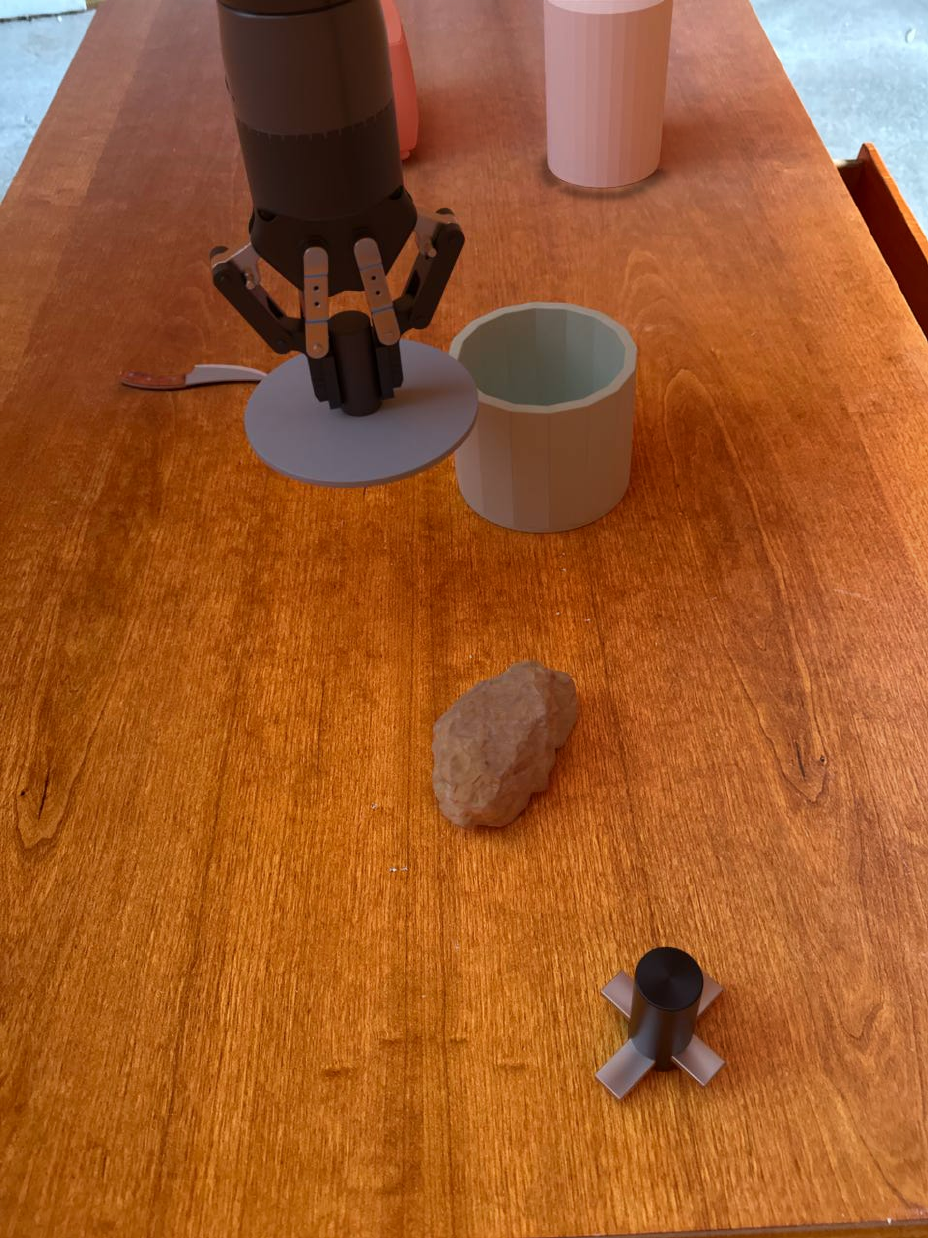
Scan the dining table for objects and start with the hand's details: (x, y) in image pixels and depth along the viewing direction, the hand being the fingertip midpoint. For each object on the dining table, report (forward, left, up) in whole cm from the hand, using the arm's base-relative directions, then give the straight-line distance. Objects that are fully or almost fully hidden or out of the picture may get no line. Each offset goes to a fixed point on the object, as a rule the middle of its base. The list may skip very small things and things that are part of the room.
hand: (360, 394), depth 65 cm
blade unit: (-7, +34, -16) cm, 38 cm away
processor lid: (0, 0, -1) cm, 1 cm away
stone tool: (-4, +16, -16) cm, 23 cm away
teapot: (-9, -65, -16) cm, 68 cm away
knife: (+11, -28, -16) cm, 34 cm away
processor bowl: (-13, -8, -16) cm, 22 cm away
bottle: (-32, -53, -16) cm, 64 cm away
